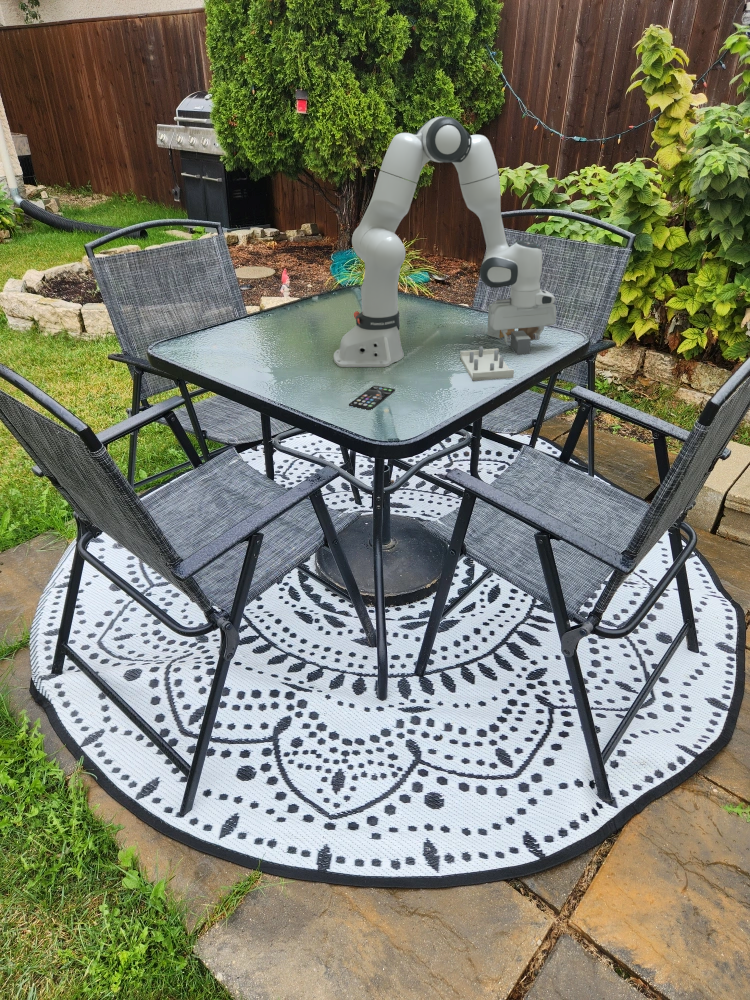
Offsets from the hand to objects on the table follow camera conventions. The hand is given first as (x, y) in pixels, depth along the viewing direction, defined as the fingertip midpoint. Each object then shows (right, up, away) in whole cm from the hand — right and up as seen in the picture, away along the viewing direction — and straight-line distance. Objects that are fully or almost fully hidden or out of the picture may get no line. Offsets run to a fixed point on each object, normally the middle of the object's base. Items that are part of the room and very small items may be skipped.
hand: (521, 340), depth 212 cm
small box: (-4, +5, +15) cm, 16 cm away
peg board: (-13, -10, -10) cm, 19 cm away
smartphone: (-47, -22, -24) cm, 57 cm away
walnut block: (+5, +4, +11) cm, 12 cm away
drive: (0, -3, +2) cm, 3 cm away
